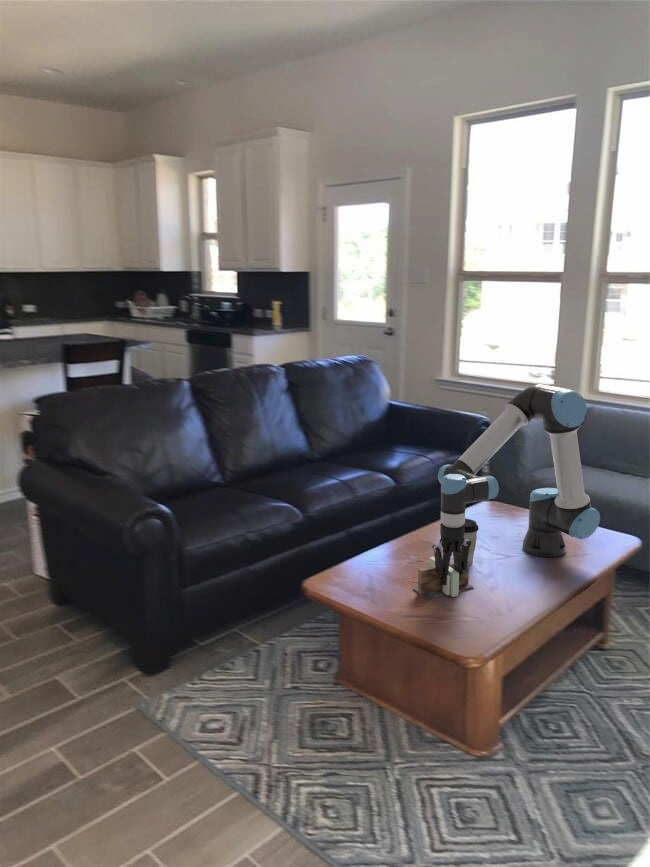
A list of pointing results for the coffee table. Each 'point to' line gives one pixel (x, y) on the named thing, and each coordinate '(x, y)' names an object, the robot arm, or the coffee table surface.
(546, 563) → the coffee table surface
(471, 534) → the coffee cup
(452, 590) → the pale green upright panel
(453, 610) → the coffee table surface
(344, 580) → the coffee table surface
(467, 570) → the brown piece
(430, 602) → the coffee table surface
